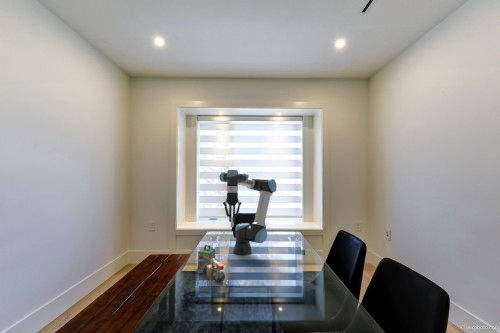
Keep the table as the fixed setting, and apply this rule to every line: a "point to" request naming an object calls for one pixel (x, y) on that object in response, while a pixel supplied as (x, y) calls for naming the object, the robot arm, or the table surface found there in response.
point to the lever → (217, 264)
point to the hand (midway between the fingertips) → (232, 226)
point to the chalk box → (205, 255)
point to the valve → (213, 272)
